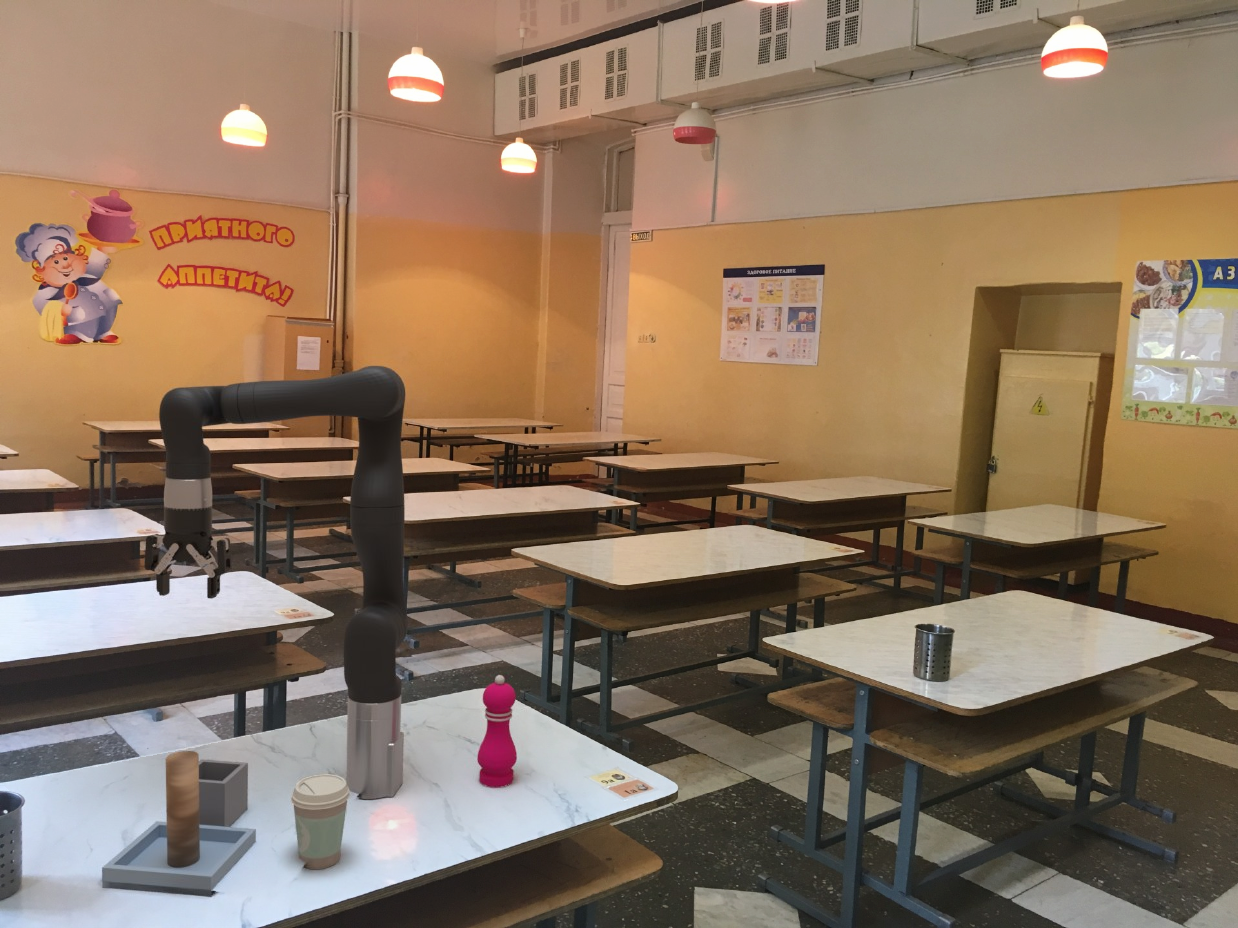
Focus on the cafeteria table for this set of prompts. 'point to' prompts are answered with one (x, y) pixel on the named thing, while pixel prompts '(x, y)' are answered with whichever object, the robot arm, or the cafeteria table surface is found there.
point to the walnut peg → (182, 808)
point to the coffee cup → (320, 818)
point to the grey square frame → (222, 792)
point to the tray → (150, 871)
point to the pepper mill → (497, 736)
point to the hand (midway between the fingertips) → (188, 596)
